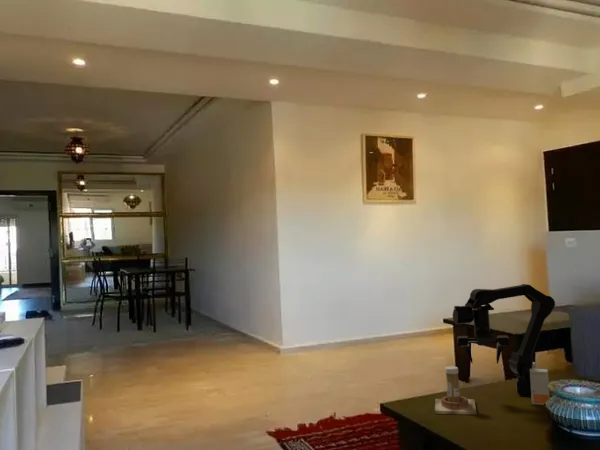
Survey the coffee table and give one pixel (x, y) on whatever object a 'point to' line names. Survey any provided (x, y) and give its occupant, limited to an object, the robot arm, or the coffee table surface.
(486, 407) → the coffee table surface
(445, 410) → the collar base
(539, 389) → the skincare box
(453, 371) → the sprinkles bottle
